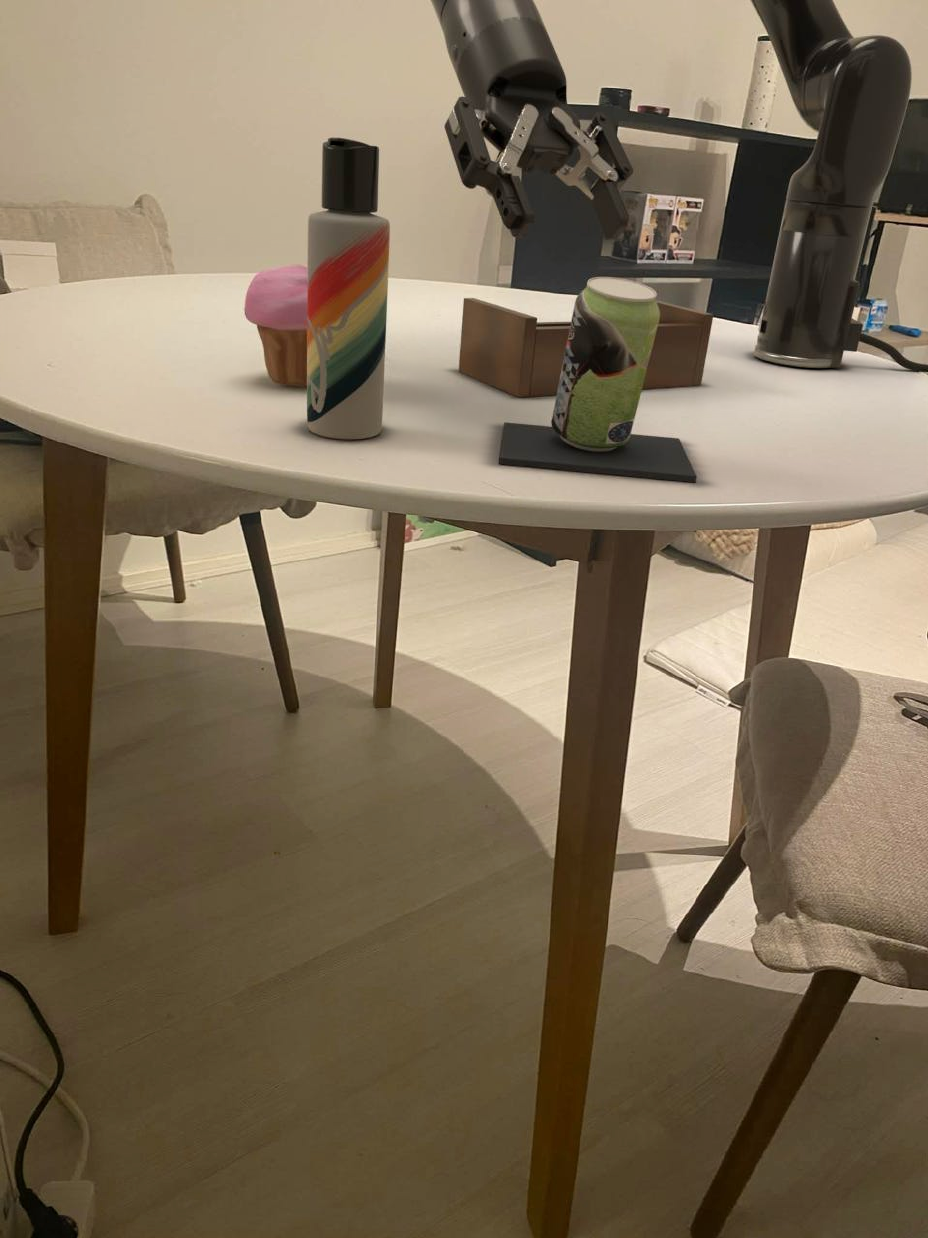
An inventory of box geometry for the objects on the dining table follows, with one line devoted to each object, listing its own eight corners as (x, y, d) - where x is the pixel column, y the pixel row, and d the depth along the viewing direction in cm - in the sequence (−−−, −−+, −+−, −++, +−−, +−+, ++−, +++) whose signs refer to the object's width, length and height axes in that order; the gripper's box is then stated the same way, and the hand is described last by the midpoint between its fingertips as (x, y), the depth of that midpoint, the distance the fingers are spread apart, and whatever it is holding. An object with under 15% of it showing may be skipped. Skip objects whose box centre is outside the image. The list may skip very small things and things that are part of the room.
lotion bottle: (291, 429, 74) (290, 133, 65) (338, 416, 78) (343, 137, 69) (351, 445, 71) (359, 139, 62) (396, 430, 76) (409, 143, 67)
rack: (458, 371, 97) (463, 297, 94) (633, 362, 108) (642, 296, 105) (518, 397, 89) (526, 317, 86) (701, 385, 100) (713, 314, 97)
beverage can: (593, 430, 78) (615, 272, 73) (657, 456, 73) (685, 287, 68) (530, 437, 75) (548, 272, 70) (592, 464, 70) (617, 288, 64)
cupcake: (349, 395, 84) (352, 274, 80) (246, 393, 83) (243, 268, 78) (339, 372, 92) (342, 260, 88) (245, 369, 90) (243, 255, 86)
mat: (678, 444, 78) (679, 438, 78) (695, 482, 69) (696, 475, 69) (503, 428, 79) (504, 421, 78) (498, 464, 70) (499, 457, 69)
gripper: (441, 0, 69) (516, 190, 65) (600, 25, 76) (676, 199, 72) (402, 85, 75) (468, 263, 71) (553, 102, 82) (620, 265, 78)
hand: (573, 231), depth 72 cm, fingers open, 8 cm apart
